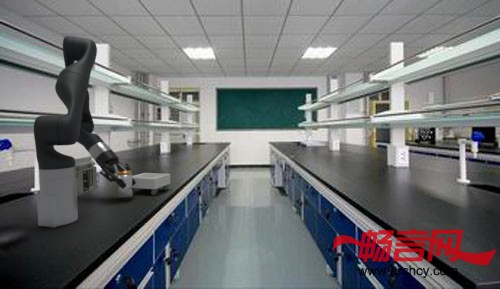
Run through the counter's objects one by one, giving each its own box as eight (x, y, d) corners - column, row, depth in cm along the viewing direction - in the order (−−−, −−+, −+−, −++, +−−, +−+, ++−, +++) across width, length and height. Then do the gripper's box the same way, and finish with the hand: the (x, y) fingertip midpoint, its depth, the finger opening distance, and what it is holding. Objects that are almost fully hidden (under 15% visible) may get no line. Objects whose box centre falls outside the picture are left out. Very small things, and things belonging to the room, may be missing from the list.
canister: (126, 197, 104) (126, 172, 103) (116, 196, 105) (115, 172, 104) (135, 194, 108) (134, 170, 108) (124, 193, 110) (124, 170, 109)
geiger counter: (69, 166, 108) (104, 158, 132) (54, 165, 108) (92, 158, 133) (71, 199, 108) (105, 185, 133) (56, 199, 109) (93, 185, 134)
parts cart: (155, 196, 113) (155, 178, 112) (127, 194, 116) (127, 177, 116) (170, 189, 124) (170, 174, 124) (144, 188, 128) (144, 172, 127)
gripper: (94, 150, 101) (122, 183, 98) (121, 148, 114) (146, 176, 112) (83, 163, 102) (110, 196, 100) (111, 159, 116) (135, 188, 114)
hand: (129, 185), depth 106 cm, fingers closed on canister, 5 cm apart
